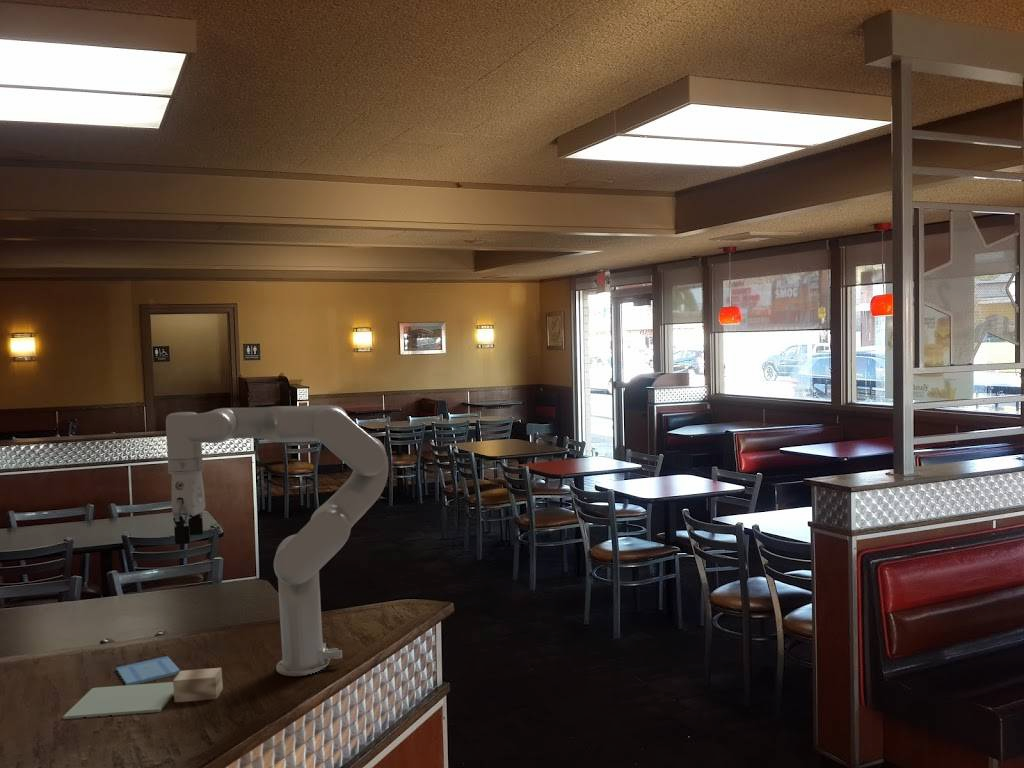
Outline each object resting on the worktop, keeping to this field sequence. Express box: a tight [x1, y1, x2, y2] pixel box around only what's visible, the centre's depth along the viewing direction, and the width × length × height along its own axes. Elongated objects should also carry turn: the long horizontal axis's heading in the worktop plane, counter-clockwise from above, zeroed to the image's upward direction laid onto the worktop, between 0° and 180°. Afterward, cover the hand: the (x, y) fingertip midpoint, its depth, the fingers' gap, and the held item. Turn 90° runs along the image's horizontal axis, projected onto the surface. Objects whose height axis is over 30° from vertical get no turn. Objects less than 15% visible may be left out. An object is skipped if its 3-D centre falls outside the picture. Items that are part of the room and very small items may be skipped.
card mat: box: [62, 681, 174, 720], centre depth 199 cm, size 20×16×1 cm
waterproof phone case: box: [115, 655, 181, 685], centre depth 217 cm, size 14×12×1 cm
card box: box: [172, 667, 224, 703], centre depth 200 cm, size 9×6×5 cm, turn 95°
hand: (189, 539), depth 209 cm, fingers open, 9 cm apart
